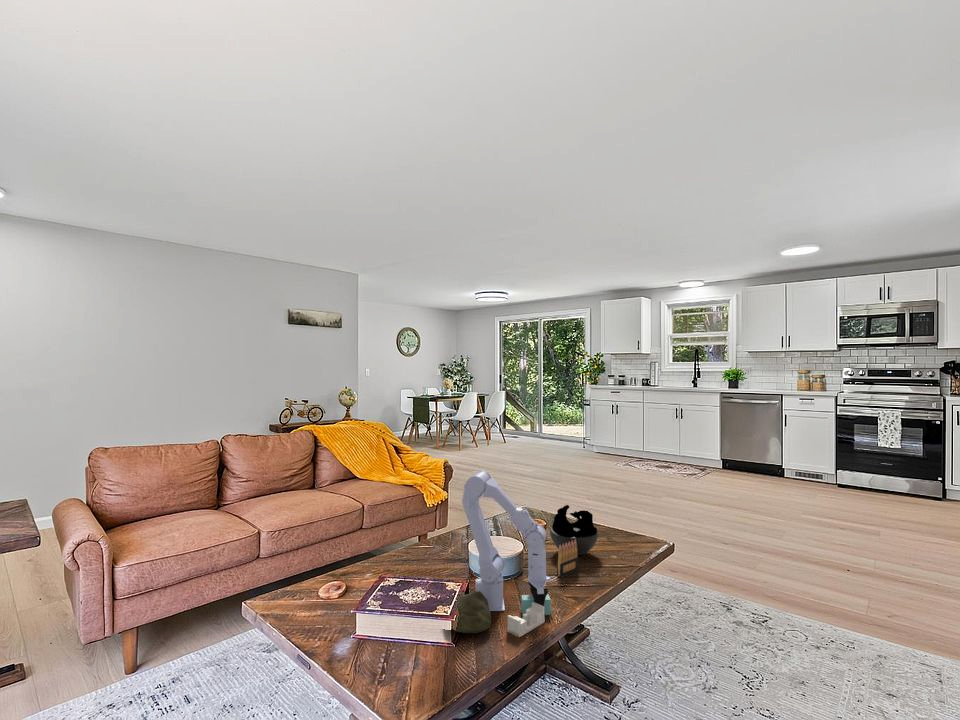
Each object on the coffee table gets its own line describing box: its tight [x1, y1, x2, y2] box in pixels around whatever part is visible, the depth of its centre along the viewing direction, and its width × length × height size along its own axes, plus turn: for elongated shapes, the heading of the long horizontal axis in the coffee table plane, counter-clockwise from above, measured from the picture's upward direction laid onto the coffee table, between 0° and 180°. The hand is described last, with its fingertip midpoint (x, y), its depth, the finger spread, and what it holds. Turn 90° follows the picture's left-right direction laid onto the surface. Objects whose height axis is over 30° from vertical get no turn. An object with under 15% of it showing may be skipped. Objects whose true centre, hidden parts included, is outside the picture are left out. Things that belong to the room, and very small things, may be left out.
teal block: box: [520, 594, 552, 616], centre depth 168 cm, size 9×4×5 cm, turn 91°
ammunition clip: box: [556, 539, 579, 578], centre depth 198 cm, size 11×2×12 cm, turn 130°
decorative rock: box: [456, 591, 492, 634], centre depth 159 cm, size 15×16×10 cm
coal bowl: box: [549, 504, 599, 557], centre depth 217 cm, size 20×20×19 cm
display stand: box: [506, 602, 546, 638], centre depth 159 cm, size 12×5×5 cm, turn 136°
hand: (538, 606), depth 168 cm, fingers open, 4 cm apart
